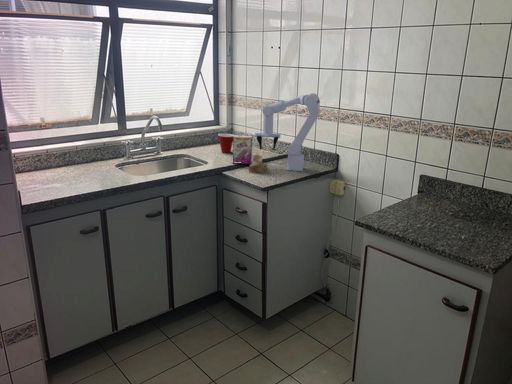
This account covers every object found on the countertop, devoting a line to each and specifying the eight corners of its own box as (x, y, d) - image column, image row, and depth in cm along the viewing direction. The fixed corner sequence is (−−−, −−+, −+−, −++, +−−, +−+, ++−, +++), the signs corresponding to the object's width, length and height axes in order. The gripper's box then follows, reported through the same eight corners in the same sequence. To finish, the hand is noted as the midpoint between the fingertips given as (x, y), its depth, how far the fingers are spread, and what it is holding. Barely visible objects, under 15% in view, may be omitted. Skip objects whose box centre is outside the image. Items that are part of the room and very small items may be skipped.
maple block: (261, 163, 237) (262, 153, 235) (261, 165, 232) (261, 155, 230) (253, 163, 237) (253, 152, 235) (252, 165, 233) (252, 155, 231)
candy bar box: (232, 163, 248) (232, 136, 242) (233, 161, 252) (234, 135, 247) (251, 164, 247) (251, 137, 241) (252, 162, 251) (252, 135, 246)
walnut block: (266, 170, 238) (266, 163, 237) (262, 174, 231) (262, 167, 230) (253, 168, 240) (253, 162, 239) (249, 172, 233) (249, 165, 232)
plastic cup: (237, 151, 274) (237, 133, 270) (228, 155, 266) (228, 136, 262) (224, 149, 280) (224, 131, 276) (214, 152, 271) (214, 134, 267)
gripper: (254, 127, 235) (254, 150, 239) (280, 128, 233) (279, 151, 238) (256, 124, 241) (255, 147, 246) (281, 125, 239) (280, 148, 244)
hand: (267, 149), depth 242 cm, fingers open, 7 cm apart
